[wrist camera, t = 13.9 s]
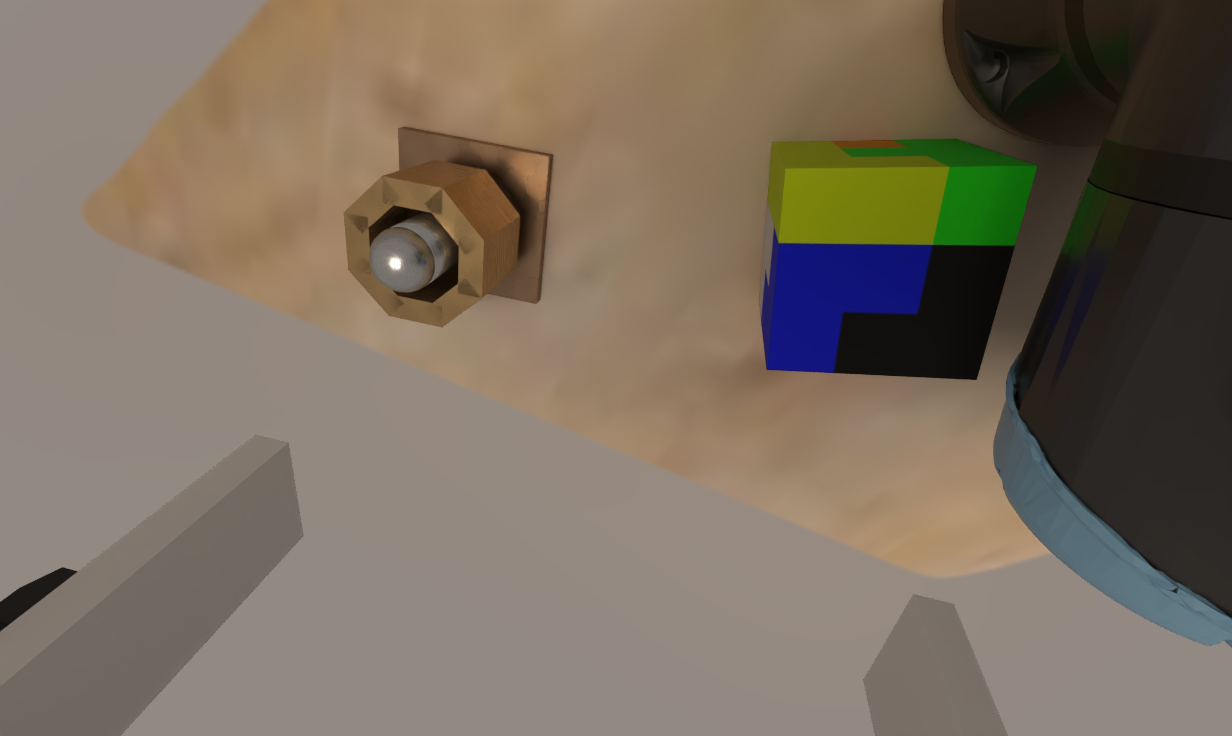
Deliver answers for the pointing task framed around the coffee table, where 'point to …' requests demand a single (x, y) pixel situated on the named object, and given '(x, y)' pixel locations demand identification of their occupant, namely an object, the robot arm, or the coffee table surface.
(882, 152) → the puzzle toy
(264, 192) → the coffee table surface
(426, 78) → the coffee table surface
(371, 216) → the ring
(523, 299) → the peg on square base
